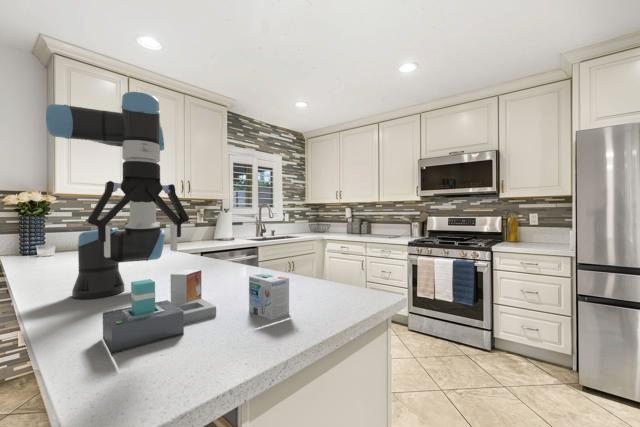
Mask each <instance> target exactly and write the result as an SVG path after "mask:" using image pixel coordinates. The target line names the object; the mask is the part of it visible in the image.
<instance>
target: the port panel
mask: <svg viewBox="0 0 640 427" xmlns="http://www.w3.org/2000/svg"><path fill="white" fill-rule="evenodd" d="M184 329H185V324H184V311H183V310H181V309H180V308H178V307H177V306H175V305H174V304H173V303H171V300H168V299H166V300H162V301H155V312H151V313H146V314H141V315H137V316H132V309H131V306H130V307H125V308H120V309H114V310H110V311H104V312H102V339H103V341H104V344H105V346H106V347H107V349H108V351H109V354H110V355H111V357H113V356H114V354H117V353H118V354H119V353H122V352H125V351H128V350H132V349H137V348H139V347H143V346H144V347H145V346H147V345H150V344H156V343H158V342H159V343H160V342H161V341H166V340H169V339H173V338H176V337H180V336H184V334H185V332H184V331H185V330H184Z"/></svg>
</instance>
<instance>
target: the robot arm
mask: <svg viewBox="0 0 640 427" xmlns="http://www.w3.org/2000/svg"><path fill="white" fill-rule="evenodd" d="M121 99H122V100H121V106H120V107H121V112H117V111H110V110H103V109H101V110H100V109H95V108H89V107H82V106H81V107H80V106H74V105H68V104H59V103H58V104H56V103H50V104H48V105H47V107H46V110H45V124H46V128H47V132H48V133H49V134H50V135H51V136H52V137H54V138H62V139H68V140H69V139H71V140H72V139H73V140H83V141H89V142H90V141H91V142H94V143H98V144H103V145H107V146H111V147H112V146H113V147H120V148H122V149H121V151H122V153H121V154H122V156H121V157H122V160H124V161H123V162H122V181H121V183H119V182H114V181H112V180H109V181H107V182H105V184H104V186H105V187H104V192H103V193H102V195H101V197H100V198H99V200H98V201H97V203H96V205H95V206H94V208H93V209H92V211H91V213H90V215H89V216H88V218H87V220H86V222H87V224H89V225H94V226H96V228H97V229H93V230H87V231H82V232H81V233H79V235H78V239H77V240H78V243H77V252H78V253H77V254H78V273H77V277H76V280H75V283H74V285H73V288H72V293H71V294H72V296H71V297H72V298H74V299H78V300H83V299H84V300H88V299H89V300H91V299H99V298H106V297H110V296H115V295H118V294H120V293H123V292H124V291H125V281H124V279H123V277H122V275H121V273H120V270H119V269H120V268H119V267H120V266H119V263H129V262H131V263H132V262H133V263H134V262H143V261H145V262H148V261H155V260H158V259H160V258H161V257H162V254H163V249H164V244H165V243H164V242H165V234H166V233H165V230H164V229H162V228H161V224H160V223H158V222H157V207H158V208H159V209H160V210H161V212H163V213H164V214H165V215H166V216H167V217H168V219H169V220H170V221H171V222H172V224H170V225H169V234H170V235H169V239H170V242H169V243H170V244H169V245H170V246H169V247H170V251H171V252H178V238H181V236H182V225H183V223H187V222H189V220H190V218H189V216H188V214H187V212H186V210H185V209H184V206H183V205H182V203H181V201H180V198H179V197H178V196H177V194H176V188H175V185H174V183H172V184H167V185H166V184H165V185H163V184H162V183H161V165H160V164H159V162H160V161H161V151H164V150H165V140H164V133H163V127H162V123H161V122H160V120H161V118H160V116H161V111H160V102H159V99H158V98H156V97H155V96H154V95H151V94H148V93H145V92H140V91H128V92H125V93H123V94H122V98H121ZM118 189H120V190H121V191H122V193H123V194H124V196H123V197H122V198H120V200H119V201H118V202H117V203H116V204H114V206H113V207H112V208H111V209H110V210H109V211H107V213H106V214H105V215H103V217H101V219H99V217H100V215H101V213H102V212H103V210H104V208H105V206H106V205H107V204H108V202H109V200H110V198H111V197H112V195H113V193H116V192H117V191H118ZM162 191H164V193H165V194H166V195H167V196H168V198H169V200H170V202H171V204H172V206H173V208H174V210H175V211H176V213H177V214H176V213H175V212H174V211H173V210H172V208H170V207H169V205H168V204H166V202H165V200H163V198H162V197H161V196H160V194H161V193H162ZM127 204H129V222H128V223H127V224H126V225H125V226H124V230H119V228H118V227H117V226H115V227H111V226H107V225H108V224H109V223H110V222H111V221H112V220H113V219H114V218H115V216H117V214H119V212H120V211H122V210H123V208H125V206H126V205H127ZM177 215H178V216H177Z"/></svg>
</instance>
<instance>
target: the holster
mask: <svg viewBox="0 0 640 427" xmlns="http://www.w3.org/2000/svg"><path fill="white" fill-rule="evenodd" d="M175 306H177V307H178V308H180V309H181V310H183V311H184V325H185V324H188V323H192V322H197V321H201V320H205V319H208V318H212V317H216V316H217V306H216V305H214V304H212V303H210V302H209V301H206V300H205V299H202V298H201V299H199V300H194V301H189V302H184V303H179V304H175Z"/></svg>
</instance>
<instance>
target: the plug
mask: <svg viewBox="0 0 640 427" xmlns="http://www.w3.org/2000/svg"><path fill="white" fill-rule="evenodd" d="M130 284H131V285H130V286H131V288H130V289H131V292H130V298H131V300H130V301H131V304H130V305H131V306H130V307H131V309H132V316H137V315H141V314H146V313H151V312H155V302H156V282H155V281H154V280H153V279H150V278H149V279H143V280H136V281H135V280H134V281H130Z"/></svg>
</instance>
